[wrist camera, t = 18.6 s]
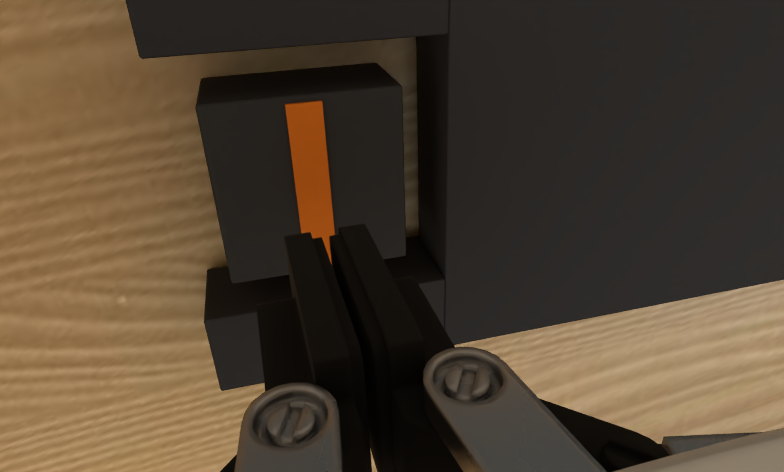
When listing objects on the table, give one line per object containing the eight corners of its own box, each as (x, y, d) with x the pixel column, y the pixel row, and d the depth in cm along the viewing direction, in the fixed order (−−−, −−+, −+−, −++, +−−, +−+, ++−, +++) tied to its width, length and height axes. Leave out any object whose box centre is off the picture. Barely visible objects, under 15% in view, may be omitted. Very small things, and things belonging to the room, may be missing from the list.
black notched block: (221, 334, 22) (220, 392, 19) (127, -79, 15) (105, -81, 12) (828, 226, 28) (894, 258, 25) (958, -107, 21) (1067, -113, 18)
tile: (200, 77, 17) (194, 106, 14) (377, 62, 18) (403, 85, 16) (231, 236, 20) (231, 286, 17) (384, 214, 21) (407, 258, 18)
